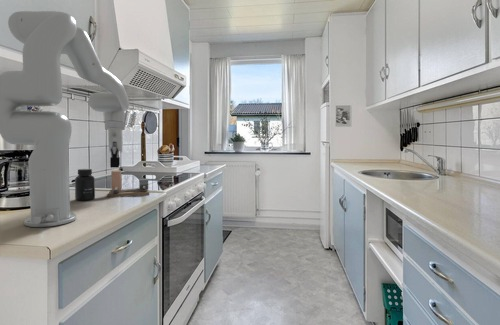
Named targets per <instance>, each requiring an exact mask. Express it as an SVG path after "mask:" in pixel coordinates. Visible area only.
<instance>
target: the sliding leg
mask: <svg viewBox="0 0 500 325" xmlns="http://www.w3.org/2000/svg"><path fill="white" fill-rule="evenodd" d="M110 177H111V190H121V189H122V170H111V176H110Z"/></svg>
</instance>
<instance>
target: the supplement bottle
mask: <svg viewBox="0 0 500 325" xmlns="http://www.w3.org/2000/svg"><path fill="white" fill-rule="evenodd" d="M95 183H96V179H95V177H94V176H93V170H92V169H91V168H79V169H77V176H75V178H74V199H75V201H77V202H87V201H93V200H95V197H96V184H95Z"/></svg>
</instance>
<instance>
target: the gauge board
mask: <svg viewBox="0 0 500 325" xmlns="http://www.w3.org/2000/svg"><path fill="white" fill-rule="evenodd" d="M138 181H139V182H138V186H139V187H138V188H135V187H134V188H121V190H112V189H109V190H108V193H107V194H108V195H107V196H108V198H116V197H118V198H119V196H121V197H136V196H150V189H149V179H148V178H139V180H138Z"/></svg>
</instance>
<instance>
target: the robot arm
mask: <svg viewBox="0 0 500 325" xmlns="http://www.w3.org/2000/svg"><path fill="white" fill-rule="evenodd" d="M7 23H8V28H9V31H10V33H11V34H12V36H13V37H14V38H15V39H16V40H17V41H19V42H20V43H22V44H23V47H22V52H21V54H22V70H8V71H4V72H2V73H0V137H1V138H2V139H3V140H4V141H5V142H6V143H9V144H12V145H18V146H19V145H20V146H24V145H25V146H26V145H27V146H35V147H34V148H33V150H32V152H31V154H30V156H29V158H28V178H29V182H28V183H29V204H30V206H29V207H30V217H27V218H25V219H24V222H23V223H24V225H25V226H26V227H31V228H45V227H53V226H54V227H56V226H60V225H65V224H69V223H72V222H74V221H75V220H77V214H76V213H74V212H71V196H70V195H71V194H70V191H71V190H70V169H69V168H70V167H69V166H70V165H69V160H70V159H69V155H70V154H69V150H70V142H71V136H72V130H73V129H72V128H73V127H72V123H71V121H70V119H69V118H68V117H67V116H66V115H64V114H63V113H60V112H55V111H49V110H48V111H43V110H42V111H40V110H39V111H38V110H35V111H34V110H33V111H31V110H30V111H28V107H55V106H57V105H58V104H60V103H61V102H62V100H63V99H62V98H63V84H62V82H63V81H62V71H61V70H62V68H61V55H67V57H68V59H69V60H70V62H71V65H72V66H73V68H74V69H75V72H76V74H77V75H78V76H79V77H80V78H81V79H83V80H85V81H87V82H90V83H92V84H95V85H97V86H101V87H103V88H104V89H105V90H108V91H107V92H106V91H105V92H100V91H99V92H94V93H92V94H90V95H89V97H88V106H89V107H90V108H91V109H92V110H94V111H95V112H99V113H100V112H101V113H104V118H105V119H104V129H105V130H108V131H107V132H108V133H107V134H108V135H107V136H108V138H107V139H108V151H109V153H110V160H109V163H110V164H109V165H110V166H109V167H110V168H111V169H112V168H113V169H114V168H116V169H117V168H119V167H120V165H121V162H120V161H121V159H120V154H122V153H123V143H124V142H123V131H125V130H126V129H125V128H126V126H125V125H126V123H125V120H126V119H125V118H126V115H125V113H126V111H127V110H128V109H129V107H130V100H129V97H128V93H127V92H126V89H125V86H124V85H123V83H122V82H121V81H120V79H118V78H117V77H116V76H115V75H114V74H113V73H111V72H110V71H109V70H107V69H106V68H104V67H103V65H102V63H101V60H100V59H99V56H98V54H97V52H96V50H95V48H94V45H93V43H92V41H91V38H90V37H89V36H90V35H88V33H87V32H86V30H84V29H83V28H81V27H78V26H77V21H76V20H75V18H74V17H73V16H72V15H71V14H69V13H67V12H62V11H56V10H55V11H53V10H50V11H49V10H47V11H46V10H41V11H40V10H38V11H37V10H35V11H31V10H30V11H29V10H24V11H15V12H13V13H12V14H10V16H9V17H8V21H7Z"/></svg>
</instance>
